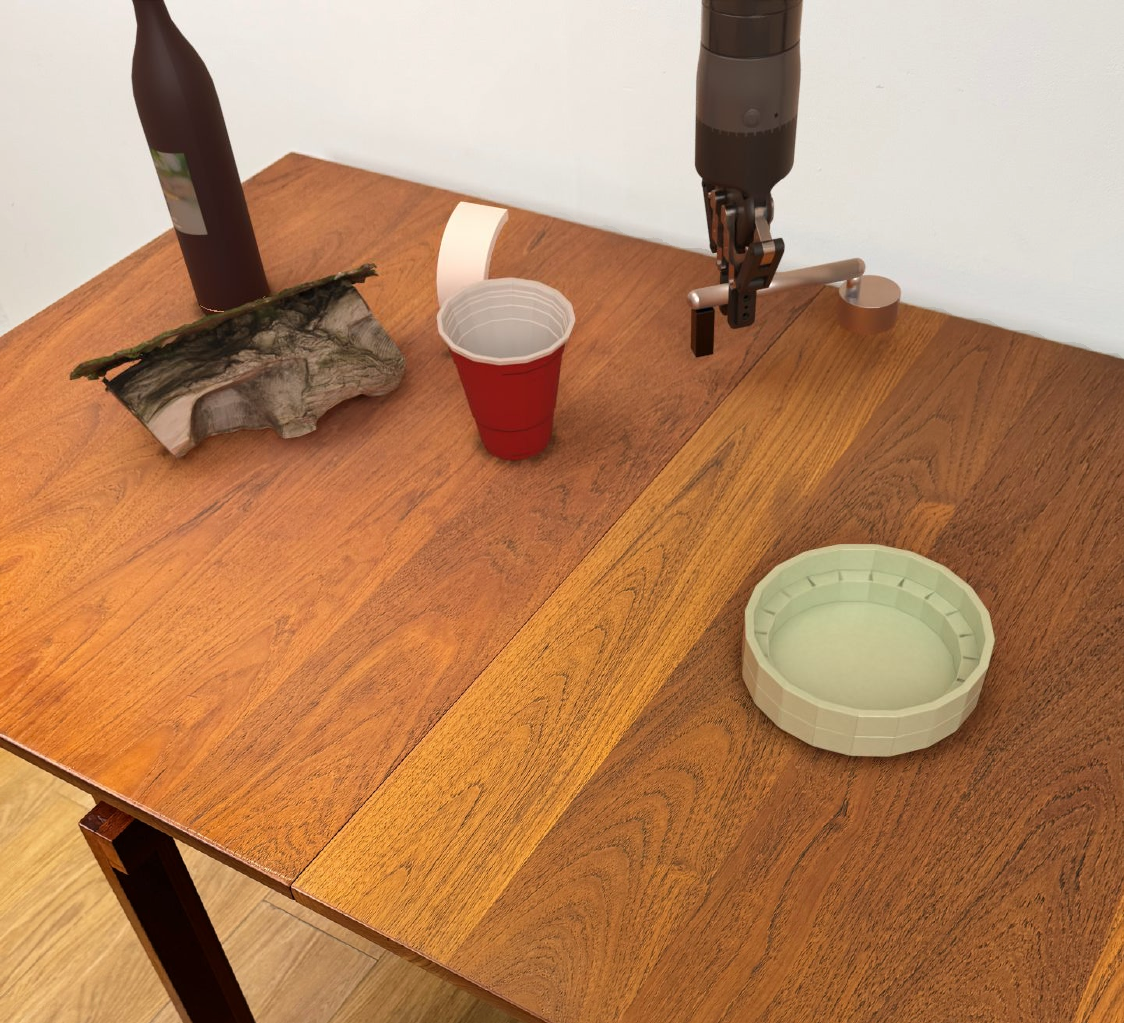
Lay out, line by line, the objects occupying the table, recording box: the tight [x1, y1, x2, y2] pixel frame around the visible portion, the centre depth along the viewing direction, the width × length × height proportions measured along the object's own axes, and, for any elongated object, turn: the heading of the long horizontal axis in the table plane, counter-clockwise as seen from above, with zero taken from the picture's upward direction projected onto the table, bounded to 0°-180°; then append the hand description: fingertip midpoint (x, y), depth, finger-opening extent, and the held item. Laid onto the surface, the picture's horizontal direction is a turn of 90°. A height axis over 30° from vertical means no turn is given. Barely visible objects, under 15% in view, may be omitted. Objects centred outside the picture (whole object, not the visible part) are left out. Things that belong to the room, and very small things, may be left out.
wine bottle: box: [130, 0, 270, 316], centre depth 108 cm, size 7×7×30 cm
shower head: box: [686, 257, 902, 359], centre depth 103 cm, size 19×5×6 cm, turn 104°
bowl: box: [741, 543, 996, 758], centre depth 82 cm, size 16×16×4 cm
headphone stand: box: [436, 201, 509, 310], centre depth 108 cm, size 5×6×12 cm
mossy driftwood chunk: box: [69, 262, 407, 460], centre depth 102 cm, size 28×13×15 cm
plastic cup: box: [436, 277, 577, 461], centre depth 98 cm, size 11×11×12 cm
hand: (736, 317), depth 102 cm, fingers closed on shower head
